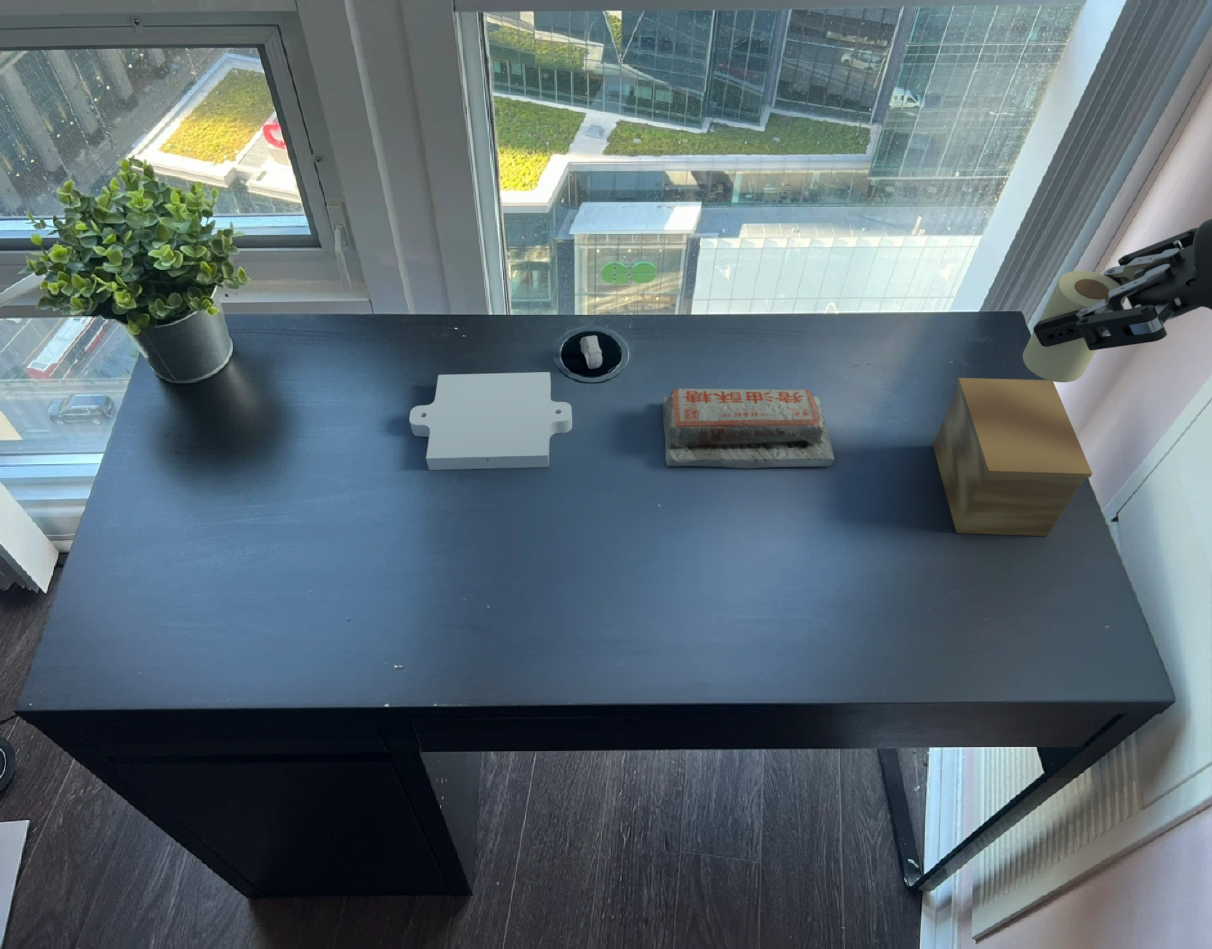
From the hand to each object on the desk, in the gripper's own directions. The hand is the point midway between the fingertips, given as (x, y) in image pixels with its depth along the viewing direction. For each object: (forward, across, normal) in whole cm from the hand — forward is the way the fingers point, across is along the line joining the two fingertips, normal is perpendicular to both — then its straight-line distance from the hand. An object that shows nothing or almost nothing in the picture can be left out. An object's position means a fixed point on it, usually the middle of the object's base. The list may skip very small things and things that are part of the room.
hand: (1051, 317), depth 72 cm
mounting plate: (+48, +25, -17) cm, 57 cm away
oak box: (+14, 0, +17) cm, 22 cm away
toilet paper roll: (+2, 0, +4) cm, 5 cm away
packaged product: (+32, +9, 0) cm, 33 cm away
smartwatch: (+46, +10, -15) cm, 50 cm away
